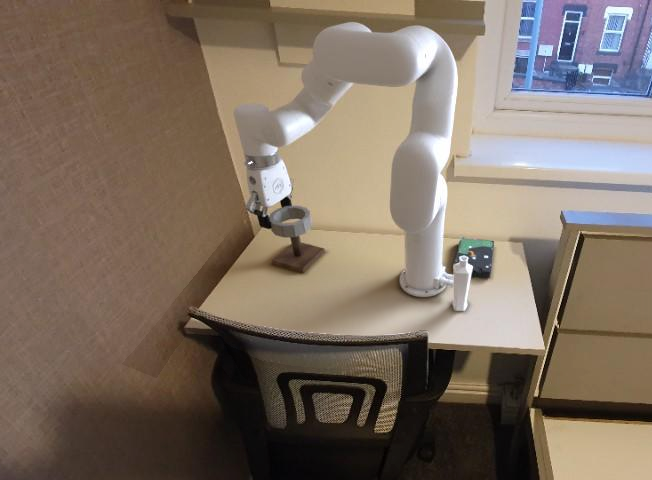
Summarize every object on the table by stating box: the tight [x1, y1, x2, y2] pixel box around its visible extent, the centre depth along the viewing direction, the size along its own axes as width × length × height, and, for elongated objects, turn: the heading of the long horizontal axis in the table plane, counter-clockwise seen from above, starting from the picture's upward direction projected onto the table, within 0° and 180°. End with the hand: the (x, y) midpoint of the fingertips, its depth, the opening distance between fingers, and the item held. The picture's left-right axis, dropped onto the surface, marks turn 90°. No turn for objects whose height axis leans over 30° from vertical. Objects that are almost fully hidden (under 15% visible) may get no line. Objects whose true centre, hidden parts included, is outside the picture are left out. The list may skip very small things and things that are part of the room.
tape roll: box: [268, 205, 313, 239], centre depth 104 cm, size 10×10×4 cm
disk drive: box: [453, 236, 495, 279], centre depth 113 cm, size 10×3×15 cm
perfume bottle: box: [451, 255, 473, 312], centre depth 94 cm, size 5×4×15 cm
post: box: [271, 235, 326, 274], centre depth 109 cm, size 10×10×9 cm
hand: (277, 219), depth 105 cm, fingers closed on tape roll, 8 cm apart
